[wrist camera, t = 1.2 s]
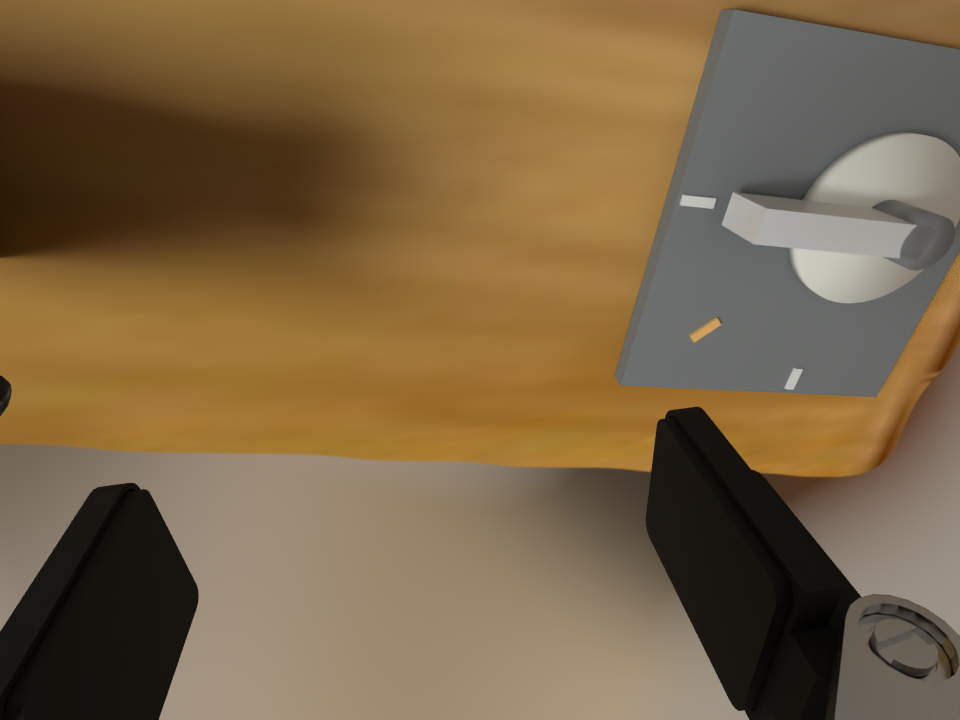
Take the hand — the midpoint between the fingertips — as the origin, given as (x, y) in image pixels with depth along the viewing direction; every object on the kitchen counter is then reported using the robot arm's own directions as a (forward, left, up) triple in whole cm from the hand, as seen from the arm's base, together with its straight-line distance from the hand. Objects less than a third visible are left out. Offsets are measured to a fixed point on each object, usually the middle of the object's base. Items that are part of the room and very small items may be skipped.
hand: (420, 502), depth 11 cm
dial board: (+2, +30, -30) cm, 43 cm away
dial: (0, +30, -28) cm, 42 cm away
